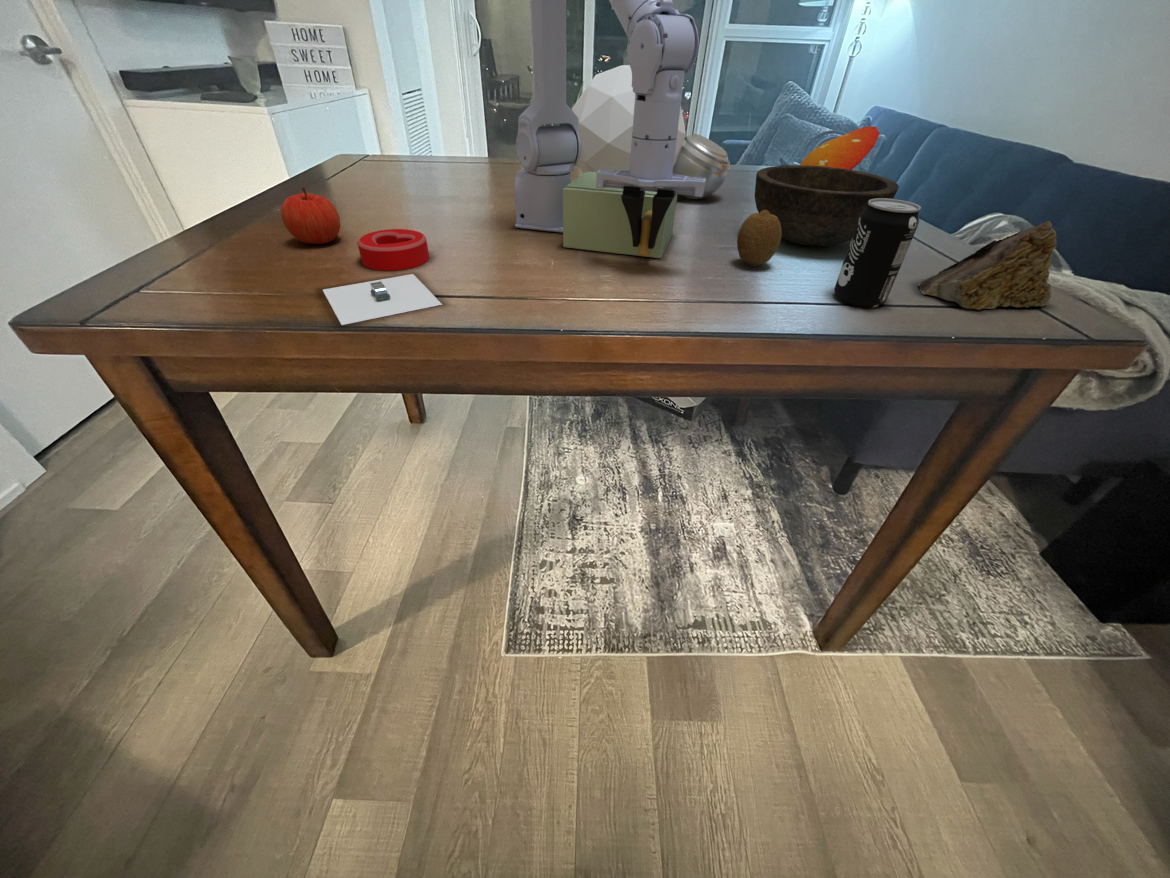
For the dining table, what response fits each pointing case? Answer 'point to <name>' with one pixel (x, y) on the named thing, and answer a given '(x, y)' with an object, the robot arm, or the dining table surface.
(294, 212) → the apple
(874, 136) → the decorative mushroom
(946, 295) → the mineral specimen
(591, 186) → the cupboard
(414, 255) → the decorative ornament
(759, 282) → the dining table surface
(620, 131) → the lamp
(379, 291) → the white paper sheet
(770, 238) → the fruit
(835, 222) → the bowl
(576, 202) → the cupboard door
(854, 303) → the beverage can
